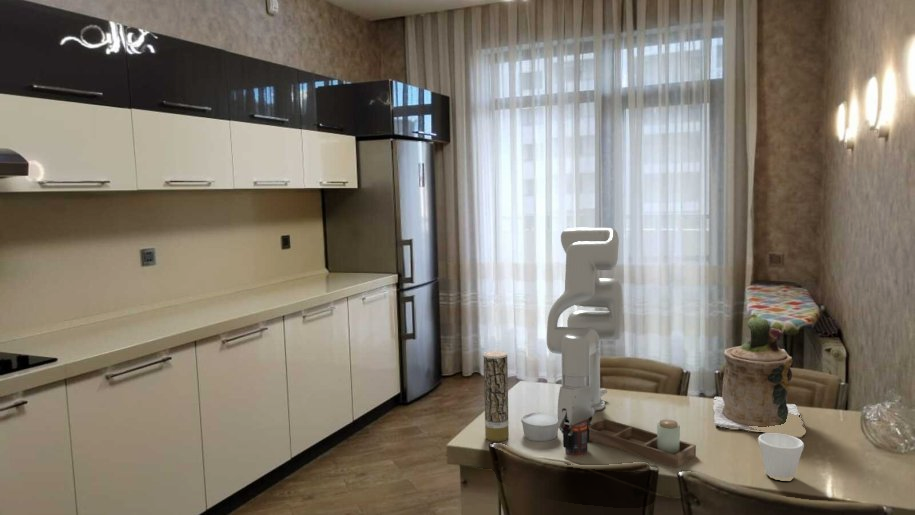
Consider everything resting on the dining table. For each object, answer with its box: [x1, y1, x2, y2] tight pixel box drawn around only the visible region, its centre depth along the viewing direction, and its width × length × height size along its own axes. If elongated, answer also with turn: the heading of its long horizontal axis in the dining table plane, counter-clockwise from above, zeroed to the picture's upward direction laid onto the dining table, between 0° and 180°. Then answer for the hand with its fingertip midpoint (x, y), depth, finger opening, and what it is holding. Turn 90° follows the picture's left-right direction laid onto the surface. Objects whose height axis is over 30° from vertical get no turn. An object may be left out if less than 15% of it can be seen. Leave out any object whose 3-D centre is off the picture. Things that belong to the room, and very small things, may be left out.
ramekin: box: [520, 412, 559, 442], centre depth 186 cm, size 11×11×5 cm
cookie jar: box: [712, 313, 804, 431], centre depth 193 cm, size 25×25×32 cm
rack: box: [588, 417, 697, 469], centre depth 175 cm, size 10×29×4 cm, turn 43°
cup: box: [757, 433, 805, 478], centre depth 156 cm, size 10×10×9 cm
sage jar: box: [656, 418, 681, 455], centre depth 168 cm, size 6×6×9 cm
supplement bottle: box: [564, 420, 588, 457], centre depth 173 cm, size 6×6×11 cm
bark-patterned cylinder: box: [483, 350, 510, 442], centre depth 184 cm, size 7×7×25 cm
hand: (576, 444), depth 173 cm, fingers closed on supplement bottle, 6 cm apart
